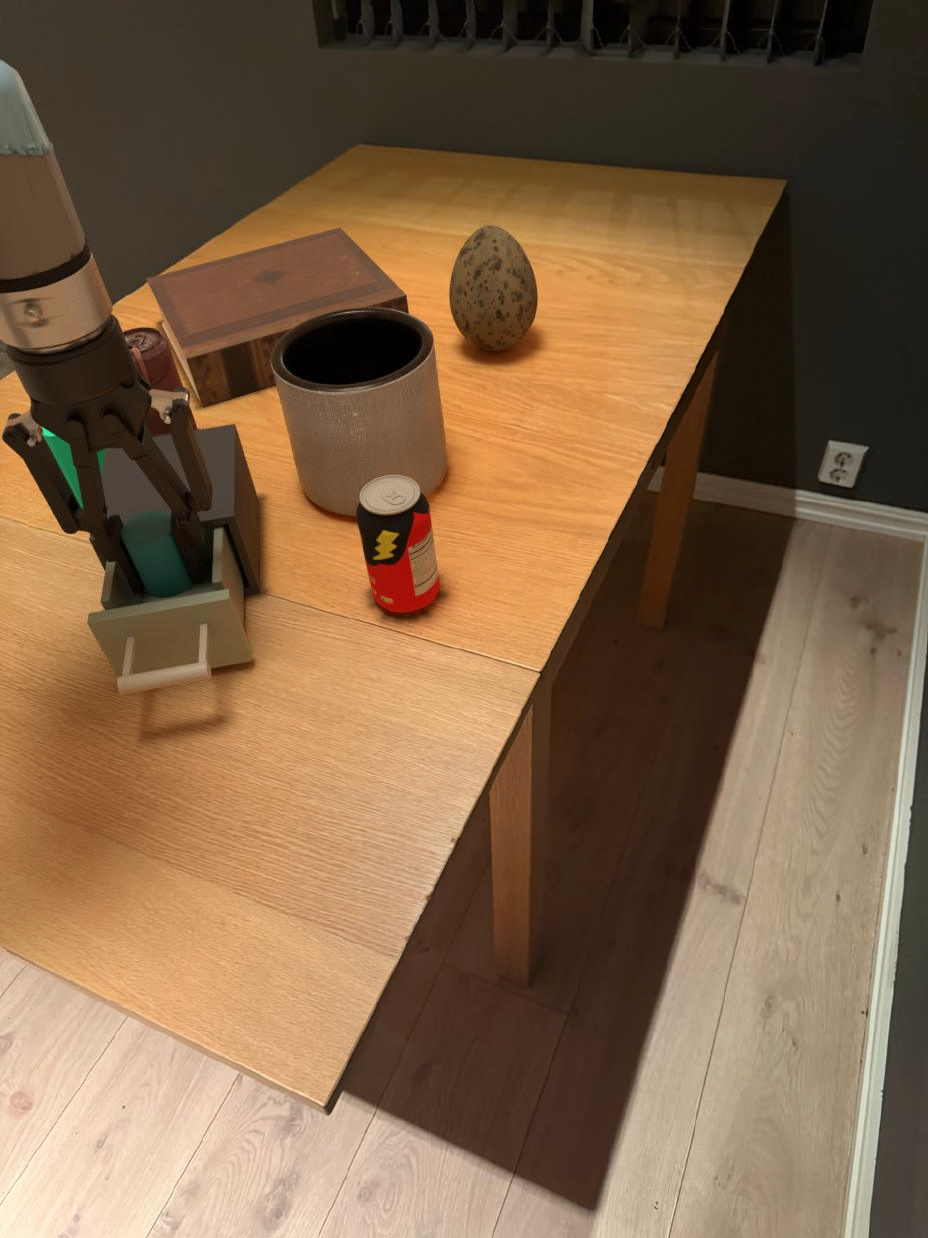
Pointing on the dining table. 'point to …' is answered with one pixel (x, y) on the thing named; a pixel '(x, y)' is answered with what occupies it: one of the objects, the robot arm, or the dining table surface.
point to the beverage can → (398, 543)
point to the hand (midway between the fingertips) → (169, 577)
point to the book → (262, 306)
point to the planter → (360, 403)
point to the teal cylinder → (156, 554)
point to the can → (155, 370)
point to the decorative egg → (493, 290)
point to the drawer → (175, 622)
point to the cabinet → (230, 492)
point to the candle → (68, 461)
